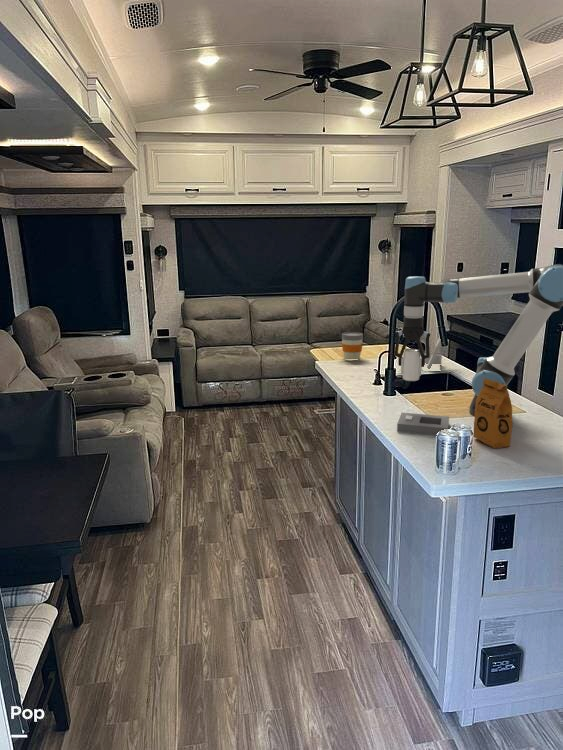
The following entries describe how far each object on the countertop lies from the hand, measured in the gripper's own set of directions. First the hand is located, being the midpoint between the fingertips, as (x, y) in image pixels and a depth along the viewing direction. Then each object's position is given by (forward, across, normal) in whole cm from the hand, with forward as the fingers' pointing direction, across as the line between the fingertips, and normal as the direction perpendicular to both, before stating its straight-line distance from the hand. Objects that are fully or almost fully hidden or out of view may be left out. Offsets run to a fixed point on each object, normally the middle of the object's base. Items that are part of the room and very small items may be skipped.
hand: (411, 374), depth 222 cm
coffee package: (+17, -31, +24) cm, 42 cm away
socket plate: (+17, -7, +15) cm, 23 cm away
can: (+2, 0, 0) cm, 2 cm away
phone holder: (+17, -3, -84) cm, 86 cm away
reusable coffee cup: (+17, +43, -94) cm, 105 cm away
